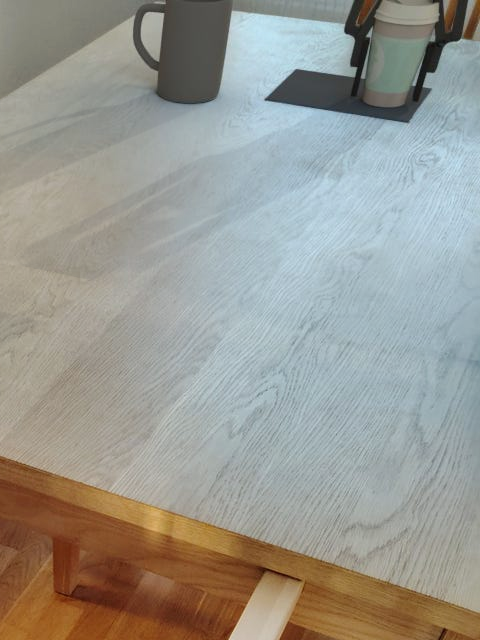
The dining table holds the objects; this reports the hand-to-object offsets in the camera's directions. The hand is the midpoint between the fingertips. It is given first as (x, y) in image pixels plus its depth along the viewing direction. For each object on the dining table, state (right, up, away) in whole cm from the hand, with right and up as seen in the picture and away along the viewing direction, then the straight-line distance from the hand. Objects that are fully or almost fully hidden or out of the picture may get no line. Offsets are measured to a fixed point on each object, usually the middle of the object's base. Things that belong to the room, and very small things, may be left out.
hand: (384, 95), depth 126 cm
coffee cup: (0, -1, +1) cm, 1 cm away
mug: (-29, +3, +5) cm, 29 cm away
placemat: (-4, +2, +3) cm, 5 cm away
